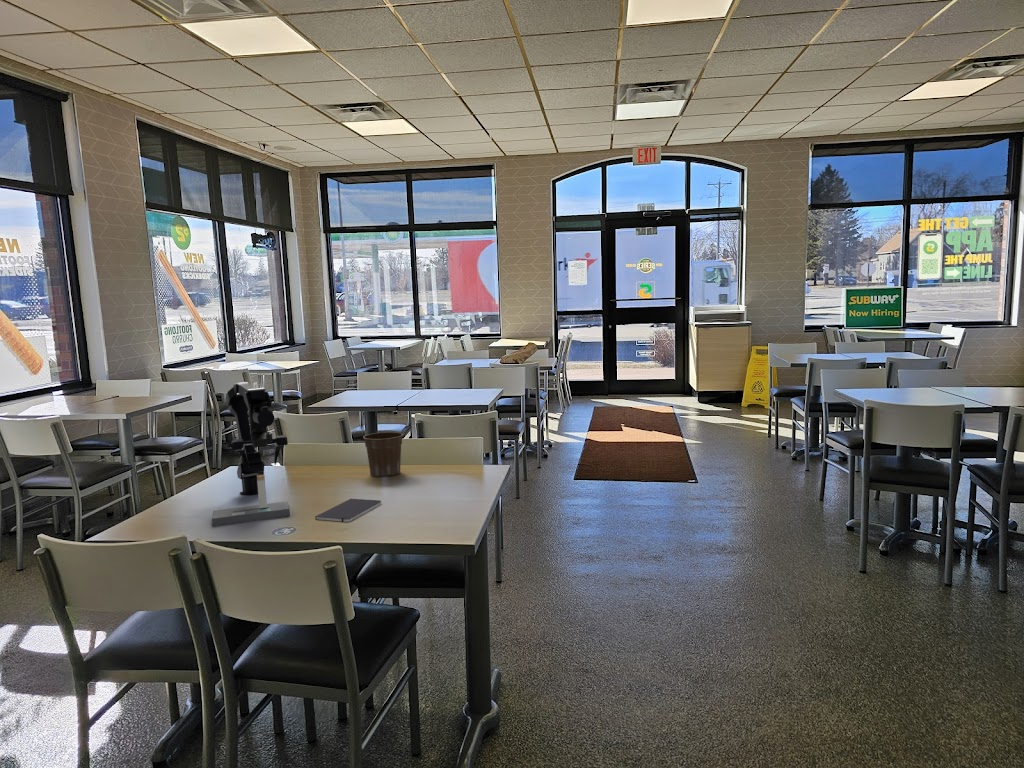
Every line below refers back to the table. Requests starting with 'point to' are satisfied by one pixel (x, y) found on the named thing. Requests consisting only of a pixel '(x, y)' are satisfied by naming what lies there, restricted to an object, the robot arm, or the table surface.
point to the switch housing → (250, 513)
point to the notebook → (348, 510)
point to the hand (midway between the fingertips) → (261, 466)
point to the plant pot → (384, 453)
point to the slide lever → (261, 491)
